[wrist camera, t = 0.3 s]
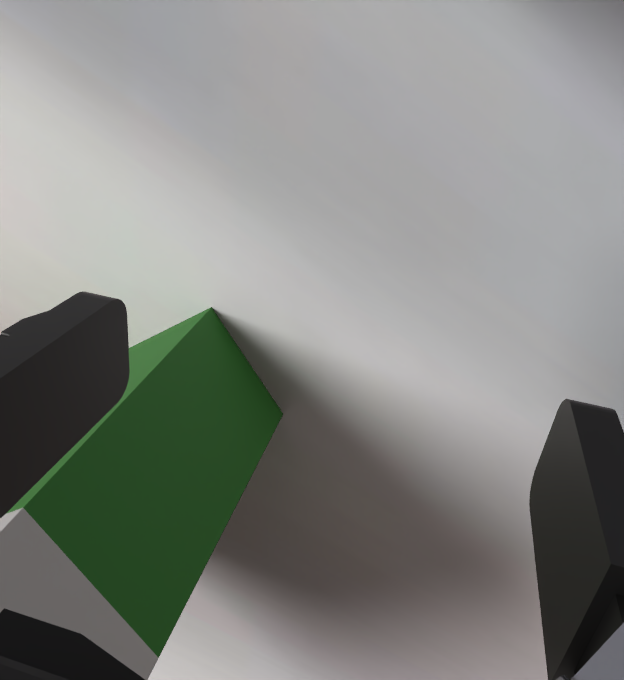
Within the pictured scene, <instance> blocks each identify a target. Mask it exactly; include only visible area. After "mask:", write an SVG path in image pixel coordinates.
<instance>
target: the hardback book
mask: <svg viewBox="0 0 624 680" xmlns="http://www.w3.org/2000/svg"><path fill="white" fill-rule="evenodd" d="M129 369H130V373H129V380H128V384H127V387H126V390H125V392H124V394H123V396H122V398H121V399H120V401H119V402H118V403H117V404H116V405H115V406H114V407H113V408H112V409H111V410H110V411H109V412H108V413H107V414H106V415H105V416H104V417H103V418H102V419H101V420H100V421H99V422H98V423H97V424H96V425H95V426H94V427H93V428H92V429H91V430H90V431H89V432H88V433H87V434H86V435H85V436H84V437H83V438H82V439H81V440H80V441H79V442H78V443H77V444H76V445H75V446H74V447H73V448H72V449H71V450H69V451H68V452H67V453H66V454H65V455H64V456H63V457H62V458H61V459H60V460H59V461H58V462H57V463H56V464H55V465H54V466H53V467H52V468H51V469H50V470H49V471H48V472H47V473H46V474H45V475H44V476H43V477H42V478H41V479H40V480H39V481H38V482H37V483H36V484H35V485H34V486H33V487H32V488H31V489H30V490H29V491H28V492H27V493H26V494H25V495H24V496H23V497H22V498H21V499H20V500H19V501H18V502H17V503H16V504H15V505H14V506H13V507H12V508H11V509H10V510H9V511H8V512H7V513H6V514H5V515H4V516H3V517H2V518H0V613H1V611H2V610H3V609H4V608H5V609H8V610H11V611H14V612H17V613H20V614H23V615H26V616H29V617H32V618H35V619H38V620H41V621H44V622H47V623H50V624H53V625H56V626H59V627H62V628H65V629H68V630H71V631H74V632H77V633H81V634H82V635H84V636H85V637H87V638H88V639H89V640H91V641H92V642H94V643H95V644H96V645H98V646H99V647H101V648H102V649H103V650H105V651H106V652H108V653H109V654H110V655H112V656H113V657H114V658H116V659H117V660H119V661H120V662H121V663H123V664H124V665H126V666H127V667H128V668H130V669H131V670H133V671H134V672H135V673H137V674H138V675H140V676H141V677H142V678H144V679H145V680H147V679H148V677H149V676H150V674H151V672H152V670H153V668H154V666H155V664H156V662H157V660H158V658H159V656H160V654H161V652H162V650H163V648H164V646H165V644H166V642H167V640H168V638H169V636H170V634H171V633H172V631H173V629H174V627H175V625H176V623H177V621H178V619H179V617H180V615H181V613H182V611H183V609H184V607H185V605H186V603H187V601H188V599H189V597H190V595H191V593H192V591H193V589H194V588H195V586H196V584H197V582H198V580H199V578H200V576H201V574H202V572H203V570H204V568H205V566H206V564H207V562H208V560H209V558H210V556H211V554H212V552H213V550H214V548H215V546H216V545H217V543H218V541H219V539H220V537H221V535H222V533H223V531H224V529H225V527H226V525H227V523H228V521H229V519H230V517H231V515H232V513H233V511H234V509H235V507H236V505H237V503H238V502H239V500H240V498H241V496H242V494H243V492H244V490H245V488H246V486H247V484H248V482H249V480H250V478H251V476H252V474H253V472H254V470H255V468H256V466H257V464H258V462H259V460H260V458H261V457H262V455H263V453H264V451H265V449H266V447H267V445H268V443H269V441H270V439H271V437H272V435H273V433H274V431H275V429H276V427H277V425H278V423H279V421H280V419H281V417H282V415H283V413H282V412H281V410H280V409H279V407H278V406H277V404H276V403H275V401H274V400H273V398H272V397H271V395H270V394H269V392H268V391H267V389H266V388H265V386H264V385H263V383H262V382H261V380H260V379H259V377H258V376H257V374H256V373H255V371H254V370H253V368H252V367H251V365H250V364H249V362H248V361H247V359H246V358H245V356H244V355H243V353H242V352H241V350H240V349H239V347H238V346H237V344H236V343H235V341H234V340H233V339H232V337H231V336H230V334H229V333H228V331H227V330H226V328H225V327H224V325H223V324H222V322H221V321H220V319H219V318H218V316H217V315H216V313H215V312H214V310H213V309H212V307H211V308H209V309H207V310H205V311H203V312H201V313H199V314H197V315H195V316H193V317H191V318H189V319H187V320H185V321H183V322H181V323H179V324H177V325H175V326H173V327H171V328H169V329H167V330H165V331H163V332H161V333H159V334H157V335H155V336H153V337H151V338H149V339H147V340H145V341H143V342H141V343H139V344H137V345H135V346H133V347H131V348H129Z"/></svg>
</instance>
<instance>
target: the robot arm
mask: <svg viewBox="0 0 624 680" xmlns="http://www.w3.org/2000/svg"><path fill="white" fill-rule="evenodd" d="M129 373H130V369H129V347H128V326H127V311H126V307H125V304H124V303H123V302H122V301H121V300H119V299H115V298H111V297H106V296H102V295H97V294H93V293H88V292H79V293H77V294H75V295H74V296H72V297H70V298H69V299H67V300H66V301H64V302H62V303H61V304H59V305H58V306H56V307H54V308H53V309H51V310H49V311H47V312H43V313H40V314H37V315H34V316H31V317H28V318H24V319H22V320H20V321H19V322H17V323H15V324H14V325H12V326H10V327H9V328H7V329H5V330H4V331H2V332H1V335H0V518H2V517H3V516H4V515H5V514H6V513H7V512H8V511H9V510H10V509H11V508H12V507H13V506H14V505H15V504H16V503H17V502H18V501H19V500H20V499H21V498H22V497H23V496H24V495H25V494H26V493H27V492H28V491H29V490H30V489H31V488H32V487H33V486H34V485H35V484H36V483H37V482H38V481H39V480H40V479H41V478H42V477H43V476H44V475H45V474H46V473H47V472H48V471H49V470H50V469H51V468H52V467H53V466H54V465H55V464H56V463H57V462H58V461H59V460H60V459H61V458H62V457H63V456H64V455H65V454H66V453H67V452H68V451H69V450H71V449H72V448H73V447H74V446H75V445H76V444H77V443H78V442H79V441H80V440H81V439H82V438H83V437H84V436H85V435H86V434H87V433H88V432H89V431H90V430H91V429H92V428H93V427H94V426H95V425H96V424H97V423H98V422H99V421H100V420H101V419H102V418H103V417H104V416H105V415H106V414H107V413H108V412H109V411H110V410H111V409H112V408H113V407H114V406H115V405H116V404H117V403H118V402H119V401H120V399H121V398H122V396H123V394H124V392H125V390H126V387H127V384H128V380H129ZM530 516H531V525H532V534H533V543H534V553H535V562H536V571H537V580H538V590H539V599H540V608H541V617H542V627H543V636H544V645H545V654H546V664H547V673H548V680H624V432H623V429H622V426H621V424H620V421H619V418H618V416H617V413H616V411H615V410H613V409H610V408H606V407H601V406H597V405H592V404H588V403H583V402H578V401H574V400H569V399H565V400H564V401H563V402H562V403H561V405H560V407H559V409H558V411H557V414H556V416H555V419H554V422H553V424H552V427H551V430H550V432H549V435H548V437H547V440H546V443H545V445H544V448H543V451H542V453H541V456H540V459H539V461H538V464H537V467H536V469H535V472H534V476H533V480H532V484H531V491H530ZM0 680H145V679H144V678H142V677H141V676H140V675H138V674H137V673H135V672H134V671H133V670H131V669H130V668H128V667H127V666H126V665H124V664H123V663H121V662H120V661H119V660H117V659H116V658H114V657H113V656H112V655H110V654H109V653H108V652H106V651H105V650H103V649H102V648H101V647H99V646H98V645H96V644H95V643H94V642H92V641H91V640H89V639H88V638H87V637H85V636H84V635H82V634H81V633H77V632H74V631H71V630H68V629H65V628H62V627H59V626H56V625H53V624H50V623H47V622H44V621H41V620H38V619H35V618H32V617H29V616H26V615H23V614H20V613H17V612H14V611H11V610H8V609H5V608H4V609H3V610H2V611H1V613H0Z"/></svg>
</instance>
